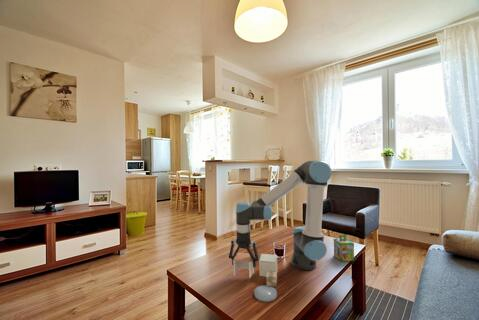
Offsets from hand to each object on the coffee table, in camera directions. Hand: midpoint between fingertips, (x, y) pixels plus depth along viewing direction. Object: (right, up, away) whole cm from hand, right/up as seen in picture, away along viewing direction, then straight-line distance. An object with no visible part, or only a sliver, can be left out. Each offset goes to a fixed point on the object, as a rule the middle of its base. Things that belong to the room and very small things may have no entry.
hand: (243, 271), depth 117 cm
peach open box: (0, 0, 0) cm, 0 cm away
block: (+15, -4, -4) cm, 16 cm away
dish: (+10, -4, -13) cm, 17 cm away
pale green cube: (+15, -4, +7) cm, 17 cm away
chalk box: (+66, -3, +23) cm, 70 cm away
